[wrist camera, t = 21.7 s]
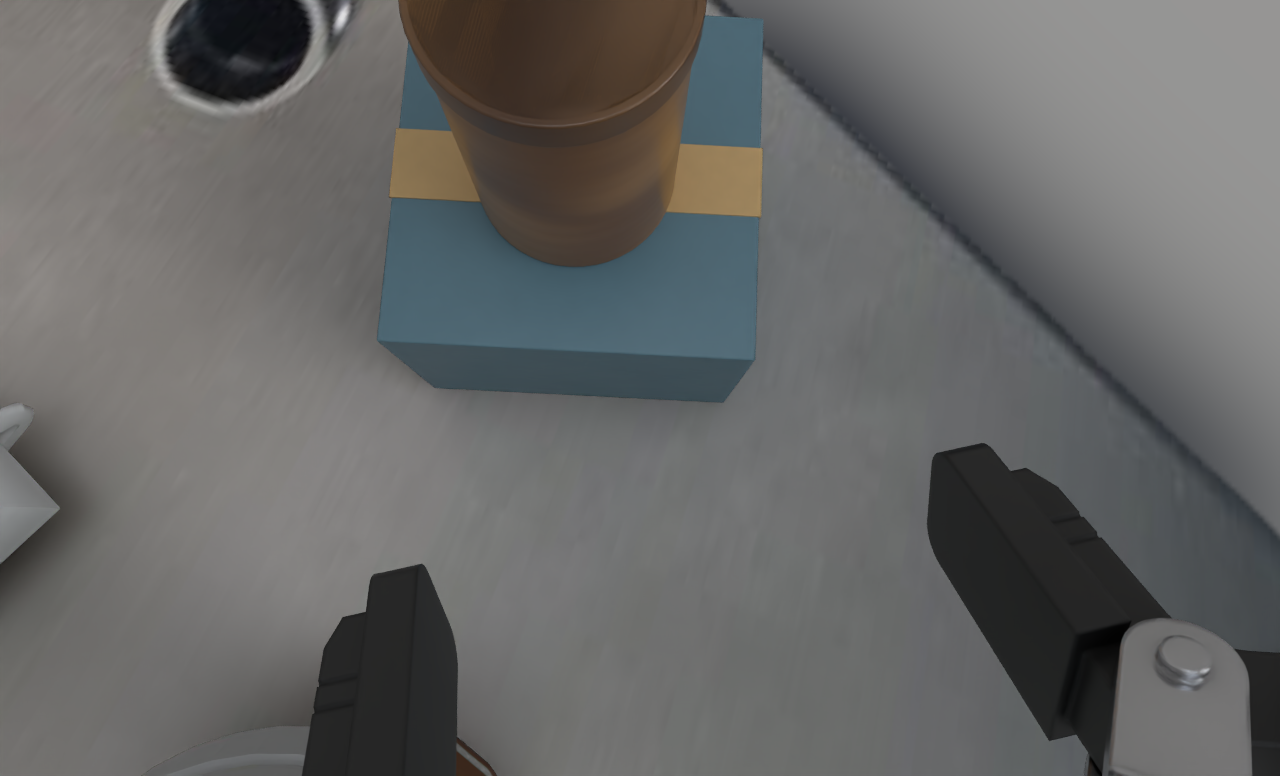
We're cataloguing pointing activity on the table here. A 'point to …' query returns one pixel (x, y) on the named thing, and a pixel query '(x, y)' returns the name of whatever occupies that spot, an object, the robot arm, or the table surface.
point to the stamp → (18, 486)
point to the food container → (273, 756)
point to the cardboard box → (591, 295)
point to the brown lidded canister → (563, 113)
